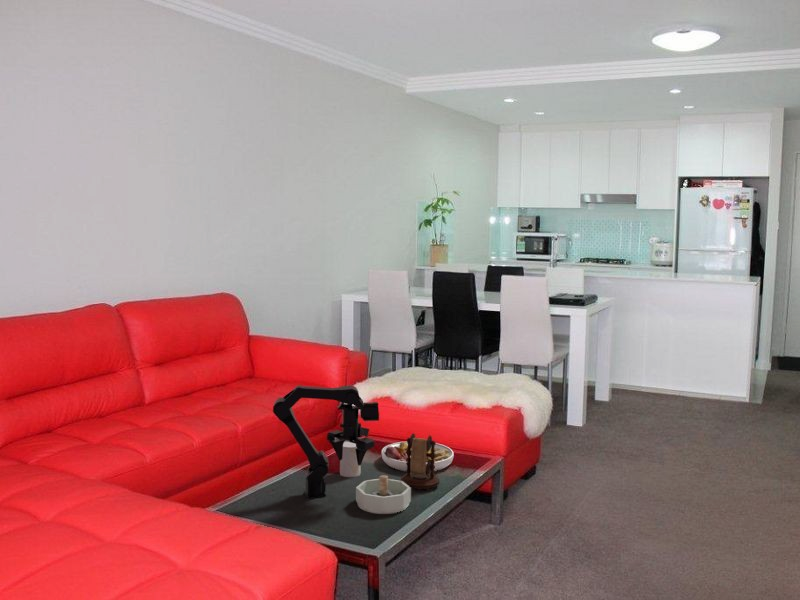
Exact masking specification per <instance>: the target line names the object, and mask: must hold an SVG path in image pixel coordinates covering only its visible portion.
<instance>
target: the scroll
mask: <svg viewBox="0 0 800 600" xmlns="http://www.w3.org/2000/svg"><path fill="white" fill-rule="evenodd" d="M406 441H407V442H408V443H407V444H408V446H407V449H408V450H407V451H406V454H407V456H408V457H407V463H406V465H407V471H405V472H406V473H405V474H403V475H402V476H401V477H400V481H403V482H404V483H405V484H407V485H408V486H409V487H410V488H411V489H418V490H419V489H421V490H422V489H424V490H425V489H426V491H427V492H429V491H430V489H431V488H435V487H437V486H439V484H440V478H439V477H438V476H437V475H435V471H434V470H433V469H435V466H434V463H435V462H434V459H435V456H436V454H435V453H434V452H435V449H434V447H435V444H436V443H437V442H436V441H435V440H433V438H432V435H428V437H427V438H421V437H420V438H419V437H416V434H415V433H414V432H413V433H411V435H410V437H407V438H406ZM431 445H432V446H431ZM431 447H432V448H431ZM430 448H431V452H432V453H430V454H429V453H426V452H429V450H430ZM410 449H411V450H410ZM410 456H411V458H410ZM426 456H427V457H429V456H430V458H431V459H429V460H428V462H427V464H426ZM430 471H431V472H430Z"/></svg>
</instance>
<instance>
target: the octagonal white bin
mask: <svg viewBox="0 0 800 600" xmlns="http://www.w3.org/2000/svg"><path fill="white" fill-rule="evenodd" d="M355 502H356V503H357V504H356V505H357V507H358V508H359V509H361V510H362V511H364V512H366V513H370V514H377V515H390V514H391V515H392V514H398V513H400V511H401V512H403V510H404V511H405V510H407V509H408V508H409V507H408V506H410V503H411V502H412V488H410V487H409V486H408V485H407V484H405V483H404V482H403V481H401V480H399V479H397V480H396V479H392V478H388V496H384V497H383V496H379V478H375V479H373V478H372V479H367V480H364V481H362V482H360V483H359V485H357V486H356V487H355ZM407 507H408V508H407ZM406 508H407V509H406ZM397 512H398V513H397Z"/></svg>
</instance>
